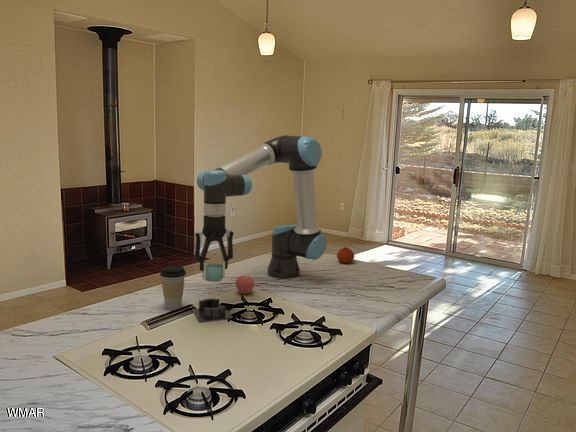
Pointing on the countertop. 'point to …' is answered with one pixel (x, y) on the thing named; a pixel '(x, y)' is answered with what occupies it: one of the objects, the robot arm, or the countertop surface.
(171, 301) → the coffee cup
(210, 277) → the cap
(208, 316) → the dark grey raised block
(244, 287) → the apple
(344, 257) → the fruit
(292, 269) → the robot arm
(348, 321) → the countertop surface
